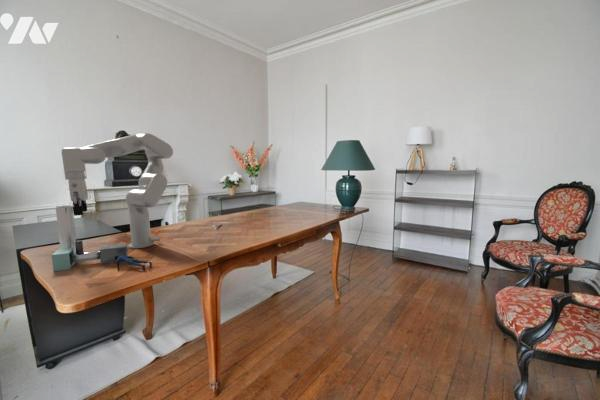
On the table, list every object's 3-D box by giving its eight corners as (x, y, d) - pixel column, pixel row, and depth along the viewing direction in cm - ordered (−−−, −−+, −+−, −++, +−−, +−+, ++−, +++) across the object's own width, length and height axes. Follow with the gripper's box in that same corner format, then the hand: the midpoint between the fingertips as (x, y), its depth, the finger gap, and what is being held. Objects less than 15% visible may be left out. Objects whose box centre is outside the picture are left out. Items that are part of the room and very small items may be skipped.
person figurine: (157, 268, 126) (124, 260, 130) (158, 259, 126) (125, 251, 129) (138, 278, 116) (103, 268, 119) (139, 267, 115) (104, 258, 119)
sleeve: (128, 256, 137) (127, 243, 136) (126, 260, 131) (125, 246, 130) (103, 259, 132) (102, 245, 131) (101, 264, 126) (99, 249, 125)
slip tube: (109, 257, 132) (107, 237, 131) (107, 259, 128) (106, 239, 127) (63, 262, 124) (61, 241, 123) (61, 265, 121) (58, 244, 119)
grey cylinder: (68, 256, 137) (62, 206, 134) (57, 255, 138) (51, 205, 135) (80, 252, 143) (75, 204, 140) (70, 251, 145) (65, 203, 141)
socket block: (75, 262, 128) (73, 247, 127) (69, 269, 120) (68, 253, 119) (60, 264, 126) (58, 249, 125) (53, 271, 118) (51, 255, 117)
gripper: (82, 176, 118) (87, 215, 121) (89, 174, 133) (94, 209, 136) (59, 177, 114) (65, 217, 117) (69, 175, 129) (74, 210, 132)
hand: (80, 213), depth 126 cm, fingers open, 9 cm apart
